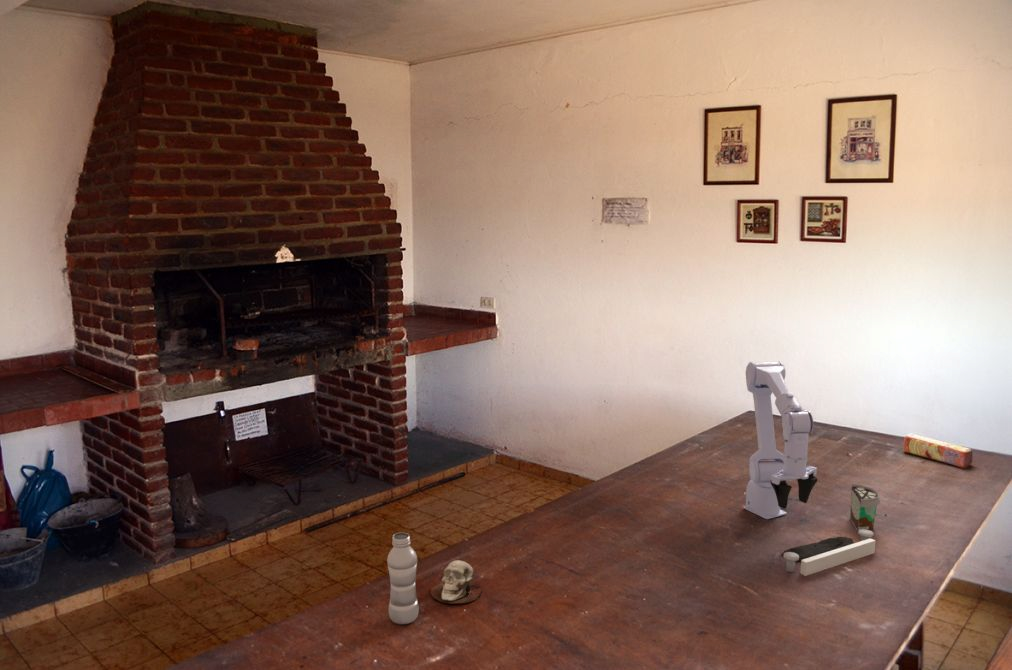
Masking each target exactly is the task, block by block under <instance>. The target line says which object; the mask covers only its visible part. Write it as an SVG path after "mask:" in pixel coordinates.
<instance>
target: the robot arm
mask: <svg viewBox="0 0 1012 670" xmlns="http://www.w3.org/2000/svg"><path fill="white" fill-rule="evenodd" d="M786 373H787V372H786V368H785V364H784V363H783V362H782V361H779V360H778V361H769V362H768V361H764V362H756V361H755V362H753V361H749V362H748V363H747V365H746V368H745V380H746V381H745V382H746V388H747V392H749V393H751V394H752V397H753V408H754V414H755V415H754V416H755V426H756V437H757V438H756V439H757V447H758V449H757V451H755V452H754V453H753V454H751V456H750V457H749V468H748V473H749V477H750V478H749V479H750V480H749V481H748V482H747V484H746V488H745V489H746V491H745V492H746V494H745V505H743V509H745V510H747V511H748V512H751V513H753V514H755V515H757V516H759V517H761V518H763V519H765V520H770V519H774V518H777V517H781V516H785V515H787V514H788V513H787V511H784V510H786V509H787V507H788V499H789V495H790V492H791V489H792V488H793V486H792V485H789V484H788V483H787V482H789V481H793V480H797V486H798V501H799V502H801V503H804V504H807V502H808V500H809V497H810V495H811V492H812V490H813V488H814V486H815V485H816V484H817V482H818V477H816V476H817V473H818V472H817V471H818V470H817V469H818V467H815V466H813V465H809V466H807V464H808V463H807V462H808V448H809V434H811V433H813V430H814V419H813V415H812V413H811V411H809V410H807V409H806V408H805V409H804V408H803V407H802V406H801V403H800V402H799V400H798V399H797V396H796V395H795V394H794V393H793V392H789V389H788V386H787V384H786V382H785V379H786ZM772 395H774V397H775V401H774V405H775V407H776V409H777V411H778V413H779V414H780V417H781V425H782V426H781V427H782V431H783V432H782V436H783V439H784V449H783V450H784V453H782V452H780V451H779V450H778V449H777V446H776V445H777V444H776V432H775V426H774V425H775V424H774V415H773V405H772ZM782 509H783V510H782Z"/></svg>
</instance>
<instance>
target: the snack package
mask: <svg viewBox="0 0 1012 670" xmlns="http://www.w3.org/2000/svg"><path fill="white" fill-rule="evenodd" d="M902 445H903V446H902V450H903V452H905V453H907V454H911V455H916V456H919V457H923V458H926V459H929V460H935V461H937V462H940V463H941V462H942V463H945V464H949V465H952V466H956V467H959V468H962V469H966V468H968V467H970V466H971V465H972V463H973V455H974V454H973V450H972V449H971V448H970V447H966V446H965V447H964V446H960V445H957V444H953V443H949V442H945V441H941V440H938V439H935V438H931V437H926V436H922V435H919V434H915V433H908V434H906V435H905V437H904V440H903V444H902Z"/></svg>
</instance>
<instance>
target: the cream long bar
mask: <svg viewBox="0 0 1012 670" xmlns="http://www.w3.org/2000/svg"><path fill="white" fill-rule="evenodd" d="M857 533H858V535H859V536H860V541H858V542H855V543H854V542H853V544H851V545H848V546H844V547H841V548H838V549H835V550H832V551H829V552H825V553H822V554H819V555H816V556H813V557H809V558H806V559H803V560H801V562H800V573H799V574H801V575H803V576H804V577H805V576H806V577H807V576H810V575H813V574H815V573H819V572H821V571H825V570H828V569H831V568H834V567H836V566H837V567H838V566H840V565H843V564H845V563H846V564H847V563H848V562H853V561H855V560H858V559H861V558H864V557H867V556H870V555H873V554H875V552H876V543H877V542H876V540H875V539H873V537H874V532H873V530H871V531H870V530H865V529H861V530H859V531H858V532H857ZM782 557H783V559H785V560H786V565H785V567H786V568H785V570H786V572H788V573H795V571H796V570H795V569H796V562H795V561H797V560H799V555H798V554H796V553H793V552H786V553H784V555H783V556H782Z"/></svg>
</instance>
